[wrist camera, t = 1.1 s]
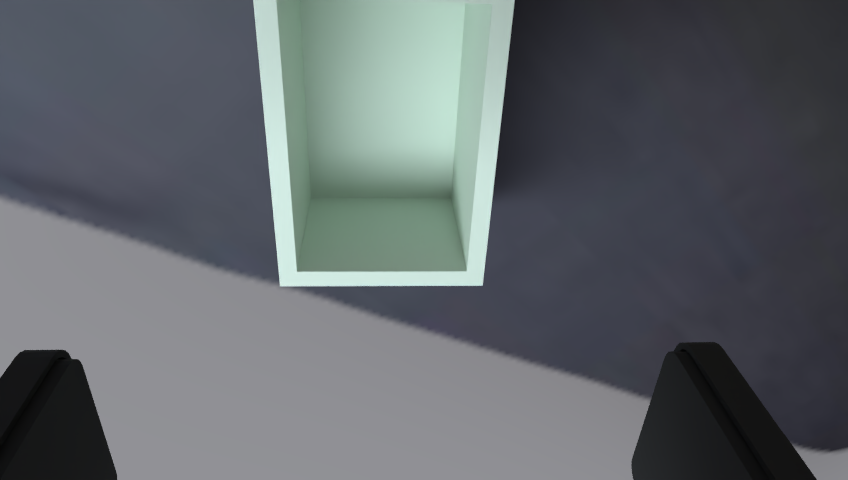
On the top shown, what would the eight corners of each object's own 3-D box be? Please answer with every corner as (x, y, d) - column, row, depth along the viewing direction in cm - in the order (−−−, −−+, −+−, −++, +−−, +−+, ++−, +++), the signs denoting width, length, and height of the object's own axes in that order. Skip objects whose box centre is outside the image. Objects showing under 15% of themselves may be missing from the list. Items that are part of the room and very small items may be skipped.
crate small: (484, -48, 22) (516, -19, 17) (462, 204, 27) (482, 285, 22) (280, -56, 21) (250, -29, 16) (298, 203, 27) (280, 286, 21)
